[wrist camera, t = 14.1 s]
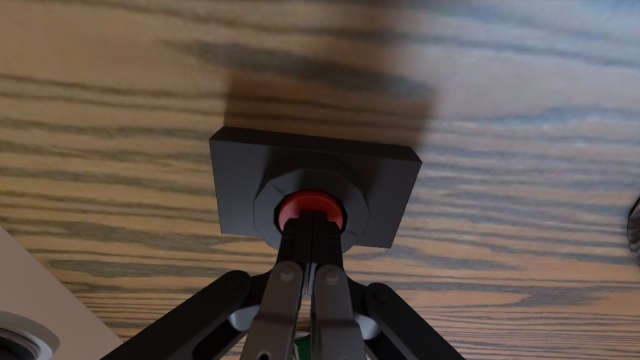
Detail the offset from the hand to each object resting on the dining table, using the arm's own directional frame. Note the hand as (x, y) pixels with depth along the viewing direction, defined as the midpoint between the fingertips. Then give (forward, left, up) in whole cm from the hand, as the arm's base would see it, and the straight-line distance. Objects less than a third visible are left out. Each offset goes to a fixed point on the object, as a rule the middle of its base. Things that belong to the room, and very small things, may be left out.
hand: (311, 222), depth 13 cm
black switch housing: (0, 0, -4) cm, 4 cm away
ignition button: (0, 0, -2) cm, 2 cm away
